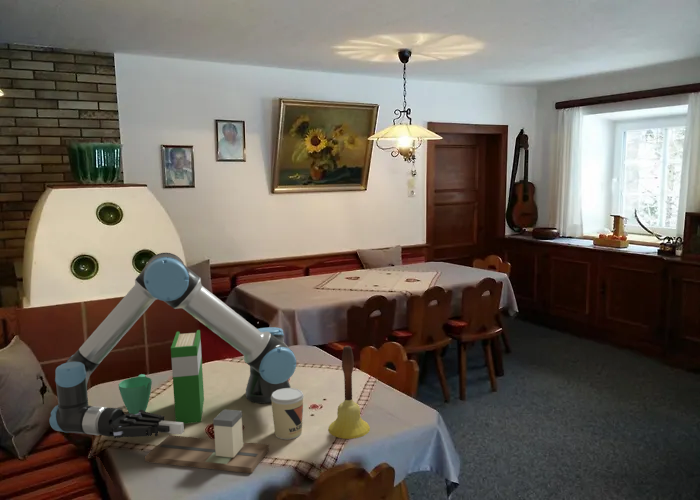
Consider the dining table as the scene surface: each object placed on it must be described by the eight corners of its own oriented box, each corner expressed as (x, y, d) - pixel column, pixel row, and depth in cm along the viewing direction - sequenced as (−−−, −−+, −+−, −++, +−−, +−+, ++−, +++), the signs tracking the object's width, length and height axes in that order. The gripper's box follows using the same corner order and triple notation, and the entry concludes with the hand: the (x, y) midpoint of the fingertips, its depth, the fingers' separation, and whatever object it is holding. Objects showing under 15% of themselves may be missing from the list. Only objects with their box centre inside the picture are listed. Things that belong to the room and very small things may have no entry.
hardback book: (181, 401, 181) (176, 331, 178) (204, 399, 183) (200, 329, 179) (175, 424, 164) (170, 348, 161) (201, 421, 166) (196, 346, 162)
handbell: (337, 442, 151) (335, 356, 148) (322, 424, 163) (319, 343, 159) (377, 433, 156) (376, 349, 153) (359, 416, 167) (358, 337, 164)
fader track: (145, 461, 143) (144, 456, 143) (169, 440, 155) (169, 434, 154) (251, 473, 136) (251, 467, 136) (269, 449, 148) (268, 444, 148)
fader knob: (215, 455, 141) (213, 419, 140) (225, 444, 147) (223, 409, 146) (233, 457, 140) (231, 421, 139) (243, 446, 146) (241, 410, 145)
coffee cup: (291, 444, 151) (289, 402, 149) (265, 436, 156) (263, 396, 154) (311, 430, 159) (309, 391, 157) (285, 423, 164) (284, 385, 162)
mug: (150, 417, 169) (148, 386, 168) (117, 420, 168) (114, 389, 167) (159, 398, 184) (157, 370, 182) (129, 401, 182) (126, 372, 181)
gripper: (120, 423, 158) (194, 430, 153) (90, 445, 145) (170, 453, 140) (118, 399, 157) (193, 405, 152) (88, 418, 144) (168, 426, 139)
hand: (182, 428), depth 146 cm, fingers closed
